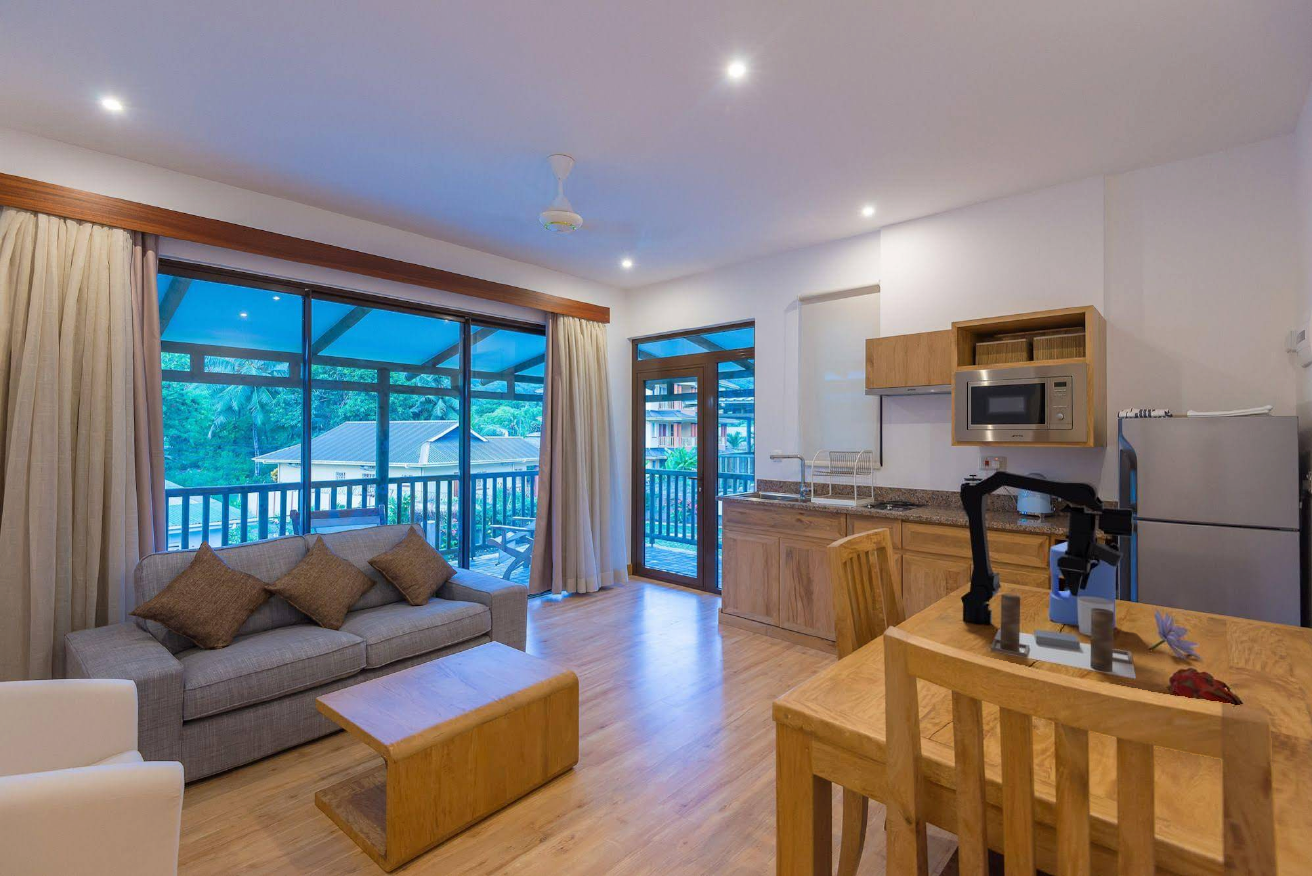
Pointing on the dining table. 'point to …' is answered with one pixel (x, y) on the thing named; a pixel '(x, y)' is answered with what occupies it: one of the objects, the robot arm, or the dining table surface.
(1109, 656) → the pin
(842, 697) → the dining table surface
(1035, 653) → the board
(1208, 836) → the dining table surface
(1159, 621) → the water lily
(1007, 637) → the pin
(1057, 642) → the cover
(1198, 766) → the dining table surface
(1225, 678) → the dining table surface
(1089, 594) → the water jug
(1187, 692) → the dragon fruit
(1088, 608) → the white cup
